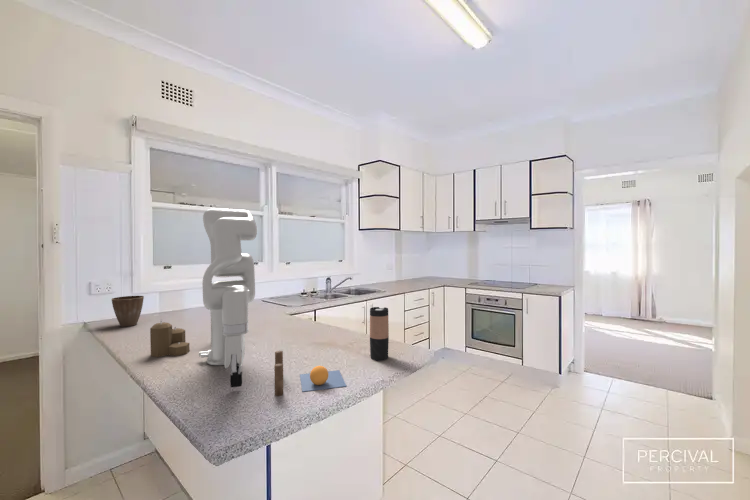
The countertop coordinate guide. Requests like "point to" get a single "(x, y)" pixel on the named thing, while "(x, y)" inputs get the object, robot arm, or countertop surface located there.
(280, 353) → the post
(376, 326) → the travel mug
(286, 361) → the countertop surface
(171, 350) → the candle
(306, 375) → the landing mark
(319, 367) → the ball
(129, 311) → the plant pot
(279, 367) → the post
